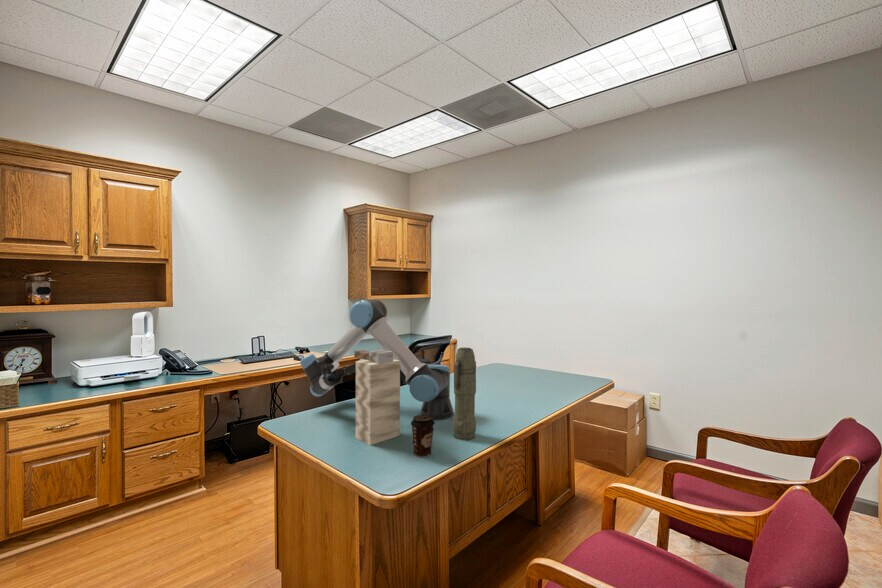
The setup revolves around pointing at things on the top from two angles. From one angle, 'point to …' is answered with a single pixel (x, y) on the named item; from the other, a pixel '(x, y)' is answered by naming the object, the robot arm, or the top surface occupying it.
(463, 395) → the thermos
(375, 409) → the pedestal
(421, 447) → the coffee cup
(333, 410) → the top surface
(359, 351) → the hammer
